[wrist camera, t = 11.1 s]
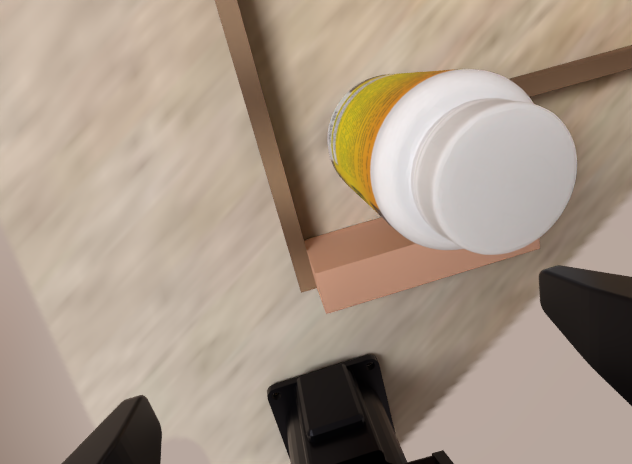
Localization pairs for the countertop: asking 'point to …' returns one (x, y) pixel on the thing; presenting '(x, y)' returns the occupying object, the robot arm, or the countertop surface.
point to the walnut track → (268, 145)
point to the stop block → (382, 263)
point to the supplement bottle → (454, 158)
